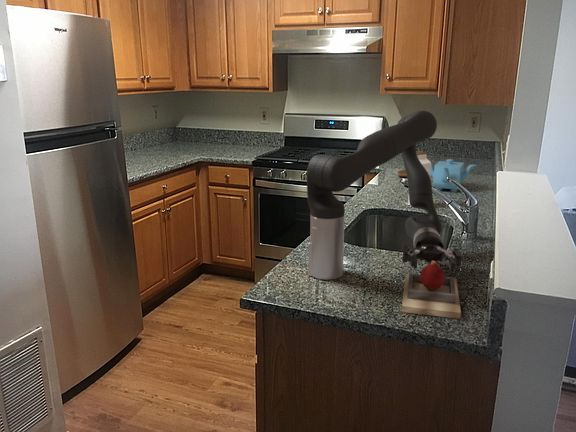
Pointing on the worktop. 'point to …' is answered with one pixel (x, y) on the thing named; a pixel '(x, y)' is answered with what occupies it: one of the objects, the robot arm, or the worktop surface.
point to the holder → (431, 298)
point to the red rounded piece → (432, 276)
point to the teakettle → (449, 174)
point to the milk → (424, 165)
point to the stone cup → (403, 172)
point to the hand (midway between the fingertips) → (433, 266)
